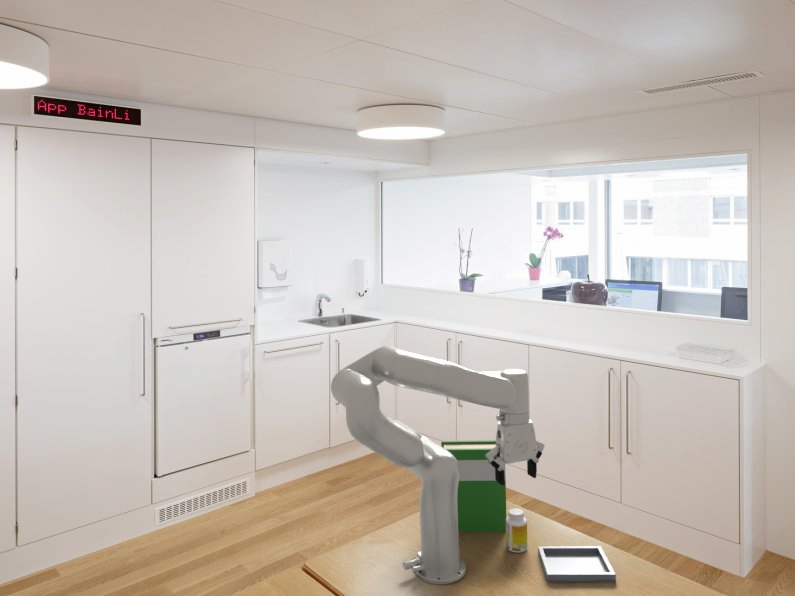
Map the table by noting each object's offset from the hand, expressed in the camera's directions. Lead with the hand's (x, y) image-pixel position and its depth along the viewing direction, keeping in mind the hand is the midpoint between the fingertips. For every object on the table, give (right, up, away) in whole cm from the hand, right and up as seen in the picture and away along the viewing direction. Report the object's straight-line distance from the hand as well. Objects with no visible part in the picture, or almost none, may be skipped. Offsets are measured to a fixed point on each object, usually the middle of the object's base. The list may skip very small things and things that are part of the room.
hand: (516, 479), depth 156 cm
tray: (+13, -19, -8) cm, 25 cm away
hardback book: (-9, -18, +15) cm, 25 cm away
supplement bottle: (+1, -19, +2) cm, 19 cm away
